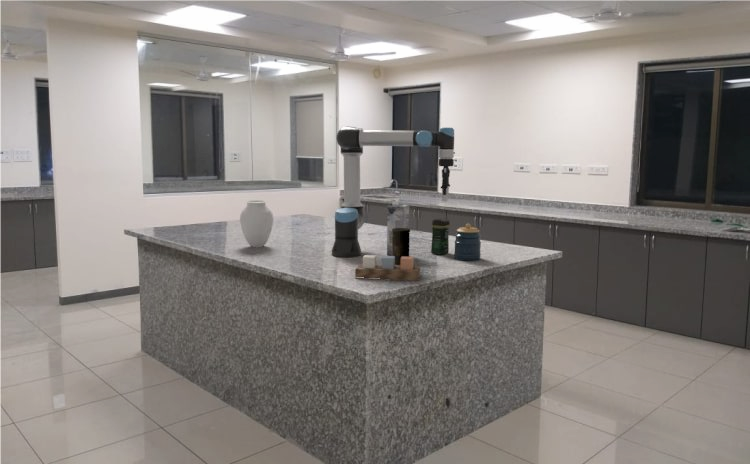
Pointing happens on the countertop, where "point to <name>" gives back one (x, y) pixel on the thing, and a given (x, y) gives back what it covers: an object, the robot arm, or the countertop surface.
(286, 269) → the countertop surface
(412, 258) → the terracotta key
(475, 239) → the canister
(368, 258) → the ivory key
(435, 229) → the coffee jar
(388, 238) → the juice carton
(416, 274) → the key panel
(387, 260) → the slate key
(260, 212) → the vase
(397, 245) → the container
